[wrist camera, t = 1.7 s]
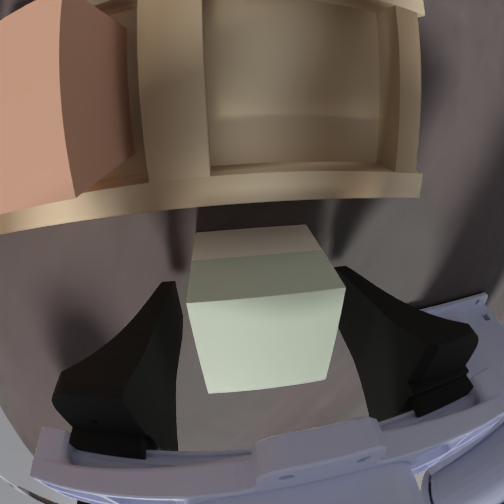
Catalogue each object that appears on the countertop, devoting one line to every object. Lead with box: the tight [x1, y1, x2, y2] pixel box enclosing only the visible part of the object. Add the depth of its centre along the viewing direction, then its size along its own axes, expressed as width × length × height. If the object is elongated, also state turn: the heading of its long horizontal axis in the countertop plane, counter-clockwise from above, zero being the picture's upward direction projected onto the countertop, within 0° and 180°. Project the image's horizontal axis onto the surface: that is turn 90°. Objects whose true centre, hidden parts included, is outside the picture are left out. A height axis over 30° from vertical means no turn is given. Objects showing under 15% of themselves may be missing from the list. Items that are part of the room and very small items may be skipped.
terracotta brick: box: [0, 0, 135, 215], centre depth 6 cm, size 5×5×5 cm
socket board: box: [0, 0, 425, 234], centre depth 8 cm, size 18×9×3 cm, turn 92°
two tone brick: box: [186, 224, 346, 393], centre depth 12 cm, size 5×5×5 cm
